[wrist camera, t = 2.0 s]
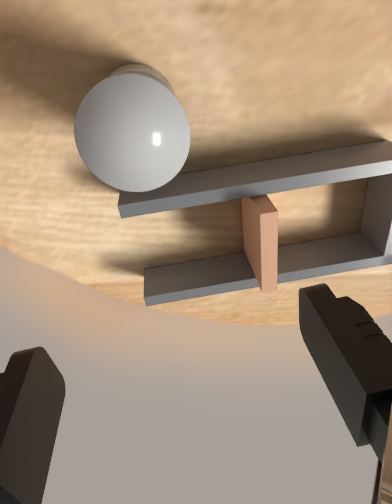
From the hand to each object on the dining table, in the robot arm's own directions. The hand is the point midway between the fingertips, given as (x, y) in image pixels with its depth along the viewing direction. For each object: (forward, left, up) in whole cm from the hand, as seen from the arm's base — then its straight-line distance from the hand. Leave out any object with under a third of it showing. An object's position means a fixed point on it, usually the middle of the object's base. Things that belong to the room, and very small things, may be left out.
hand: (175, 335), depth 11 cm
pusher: (+7, +7, -18) cm, 21 cm away
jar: (-3, -1, -18) cm, 19 cm away
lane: (+7, +7, -18) cm, 21 cm away
